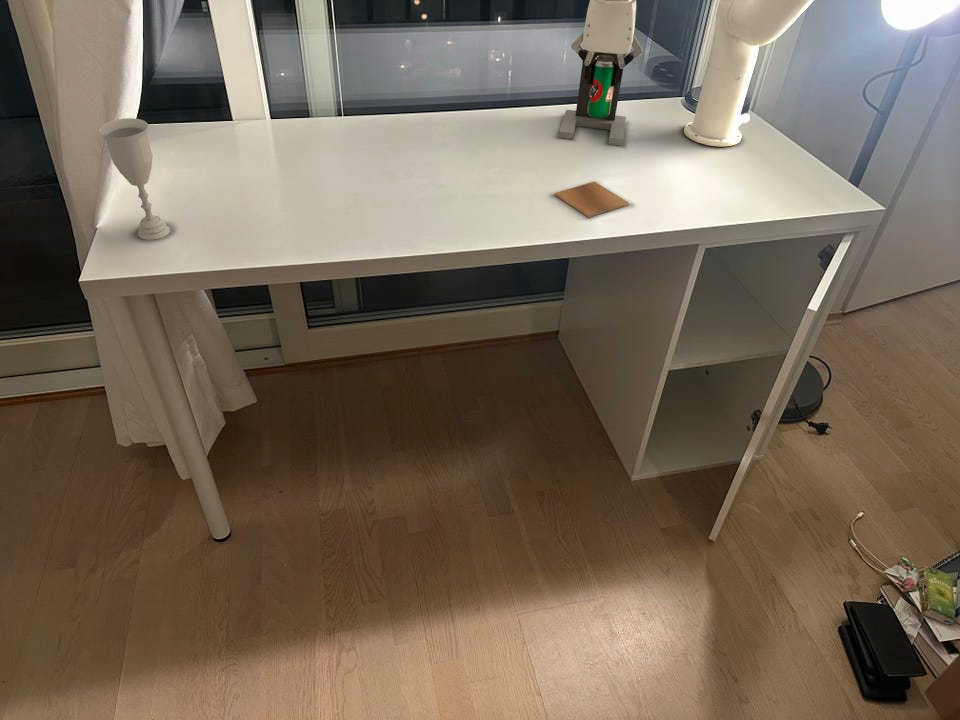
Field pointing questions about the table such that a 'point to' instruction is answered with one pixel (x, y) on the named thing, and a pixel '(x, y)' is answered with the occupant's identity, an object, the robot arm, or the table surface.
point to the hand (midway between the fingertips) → (602, 83)
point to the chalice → (134, 166)
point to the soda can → (601, 86)
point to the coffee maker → (584, 120)
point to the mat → (591, 199)
